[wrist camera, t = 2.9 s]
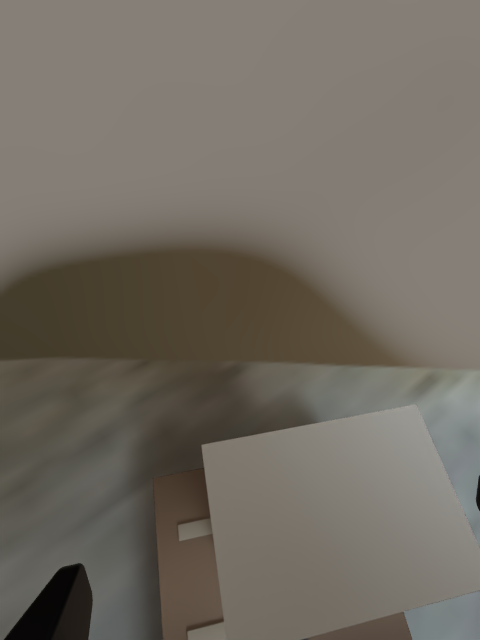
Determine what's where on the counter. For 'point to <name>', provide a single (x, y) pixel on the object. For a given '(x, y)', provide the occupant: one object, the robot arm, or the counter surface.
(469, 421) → the counter surface
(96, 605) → the counter surface
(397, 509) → the fader
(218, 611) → the console
